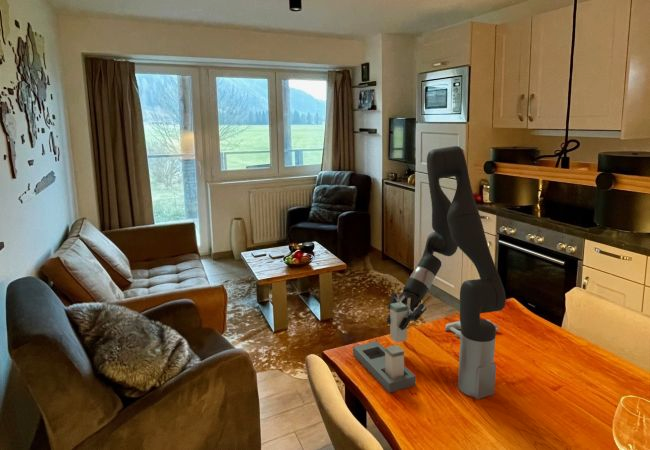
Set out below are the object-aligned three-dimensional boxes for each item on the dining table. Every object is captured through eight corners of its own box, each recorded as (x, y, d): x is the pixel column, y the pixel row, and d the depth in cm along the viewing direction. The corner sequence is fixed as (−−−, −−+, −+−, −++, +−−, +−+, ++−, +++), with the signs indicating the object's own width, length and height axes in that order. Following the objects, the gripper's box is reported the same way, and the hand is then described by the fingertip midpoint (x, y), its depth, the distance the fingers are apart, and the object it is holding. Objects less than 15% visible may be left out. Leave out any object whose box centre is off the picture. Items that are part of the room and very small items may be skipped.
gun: (483, 312, 166) (500, 324, 156) (483, 321, 167) (500, 333, 157) (441, 322, 161) (456, 334, 152) (441, 330, 162) (456, 343, 153)
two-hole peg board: (415, 385, 127) (416, 352, 125) (389, 392, 124) (389, 360, 122) (376, 348, 148) (376, 320, 146) (353, 354, 145) (352, 326, 142)
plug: (407, 339, 144) (407, 306, 141) (396, 342, 142) (396, 308, 140) (400, 334, 147) (400, 301, 145) (390, 337, 146) (390, 304, 143)
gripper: (398, 272, 150) (373, 314, 146) (431, 282, 139) (405, 328, 135) (408, 283, 155) (384, 324, 150) (441, 294, 143) (416, 338, 139)
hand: (394, 325), depth 142 cm, fingers closed on plug, 5 cm apart
